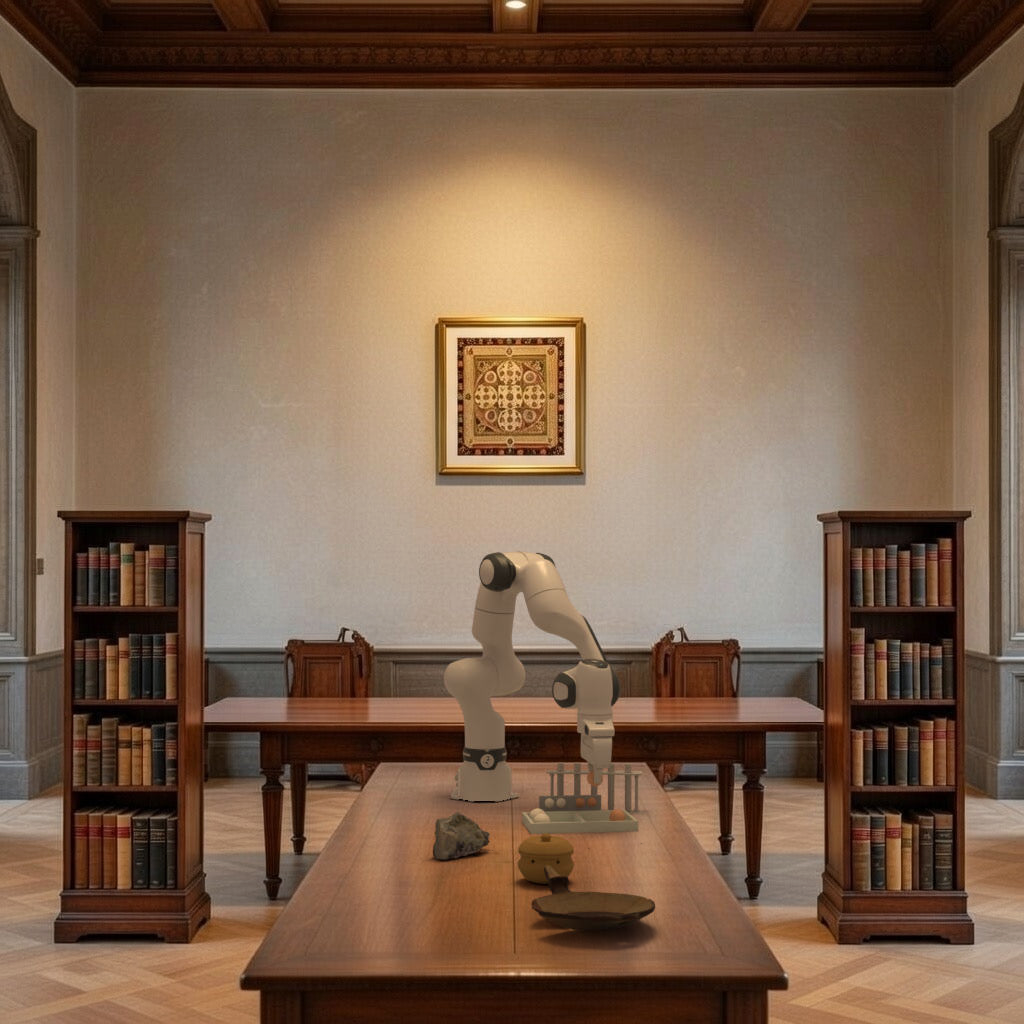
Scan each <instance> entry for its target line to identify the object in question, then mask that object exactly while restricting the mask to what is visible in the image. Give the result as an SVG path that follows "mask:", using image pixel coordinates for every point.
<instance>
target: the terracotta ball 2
mask: <svg viewBox="0 0 1024 1024" xmlns="http://www.w3.org/2000/svg"><path fill="white" fill-rule="evenodd" d="M622 810H623V809H619V808H616V809H615V808H614V810H613V811H612V812H611V813H610V815H609V819H610V821H625V814H624V812H623V811H622Z"/></svg>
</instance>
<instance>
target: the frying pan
mask: <svg viewBox="0 0 1024 1024" xmlns="http://www.w3.org/2000/svg"><path fill="white" fill-rule="evenodd" d="M544 872H545V876H546V878H547V881H548V884H547V885H548V887H549V889H550V892H551V894H548V895H544V896H540V897H537V898H534V899H532V901H531V909H533V910H534V911H535V912H537V913H538V916H540V917H542V918H543V919H544V920H546V921H549V922H551V923H553V924H555V925H557V926H560V927H563V928H567V929H569V930H572V931H573V930H574V931H579V932H601V931H602V932H603V931H610V930H616V929H619V928H623V927H625V926H629V925H631V924H633V923H635V922H638V921H640V920H642V919H643V918H645V917H647V916H649V915H651V914H652V913H653V912H655V909H656V903H655V901H654V900H653V899H651V898H647V897H644V896H640V895H635V894H629V893H619V892H618V893H616V892H614V893H613V892H601V891H599V892H598V891H571V890H570V889H569V885H568V884H569V877H567V876H560V875H559V874H558V873H556V872H555V870H554V869H553V868H552V867H550V866H548V865H546V866H545V867H544Z"/></svg>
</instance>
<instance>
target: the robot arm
mask: <svg viewBox="0 0 1024 1024" xmlns="http://www.w3.org/2000/svg"><path fill="white" fill-rule="evenodd" d="M478 577H479V581H480V584H479V587H478V590H477V595H476V600H475V605H474V610H473V618H472V619H473V620H472V626H471V634H472V637H473V638H474V639H475V640H476V642H478V643H479V644H481V647H482V656H481V657H465V658H462V659H459V660H455V661H454V662H451V663H449V664H448V665H447V667H446V669H445V671H444V674H443V681H444V686H445V690H447V692H448V693H449V694H450V695H451V696H452V697H453V698H455V699H454V700H455V701H456V702H457V703H458V705H459V707H460V709H461V712H462V715H463V722H464V747H463V751H462V760H463V763H462V764H461V765H460V766H459V767H458V770H457V771H455V773H454V782H456V783H455V785H456V786H454V788H453V790H452V792H451V794H450V799H451V798H452V799H451V800H459V799H463V800H462V801H465V800H468V801H467V802H474V801H495V802H502V801H503V800H504V801H508V800H510V798H511V799H517V798H516V797H518V798H519V793H518V792H515V791H514V790H513V775H512V774H513V773H512V772H513V771H512V766H510V765H509V764H508V762H507V761H506V760H507V755H508V754H507V753H508V752H507V747H506V746H505V745H506V743H505V741H506V740H505V739H506V738H505V736H506V735H505V734H506V730H505V729H506V721H505V719H504V717H503V715H501V714H500V713H499V712H497V711H496V710H495V709H494V706H493V705H492V700H491V699H492V697H497V696H498V697H499V696H507V695H510V694H513V693H515V692H518V691H519V690H521V689H522V687H524V684H525V681H526V670H525V667H524V664H523V663H522V662H521V661H520V660H519V658H518V657H517V656H516V653H515V650H514V647H513V627H514V619H515V612H516V605H517V603H516V601H517V597H518V595H520V593H522V594H523V598H524V602H525V604H526V609H527V611H528V615H529V618H530V619H531V621H532V623H533V624H534V625H535V626H536V627H537V628H538V629H539V630H540V631H543V632H545V633H547V634H551V635H555V636H558V637H560V638H563V639H564V640H567V641H568V642H570V643H571V644H573V645H574V646H575V648H576V649H577V651H578V652H579V655H580V656H581V659H582V660H580V661H579V662H578V664H577V665H576V666H575V667H573V668H570V669H568V670H566V671H563V672H560V673H558V674H557V675H556V676H555V678H554V679H553V682H552V685H551V686H552V688H551V689H552V690H551V692H552V697H553V699H554V702H555V703H556V705H558V707H560V708H562V709H565V710H566V709H567V710H575V709H577V713H576V717H577V718H576V721H577V722H576V723H577V724H576V728H577V729H576V732H577V733H579V734H580V757H581V758H582V759H584V760H585V761H586V764H587V770H588V771H589V772H590V771H592V770H594V776H593V782H594V783H596V784H600V783H601V776H602V772H603V771H604V769H608V768H609V767H610V764H611V763H612V755H613V754H612V751H613V750H612V749H613V737H614V736H615V733H616V732H615V727H614V719H613V714H614V713H613V709H612V707H614V705H616V703H617V702H618V700H619V699H620V696H621V694H622V683H621V681H620V678H619V676H618V674H617V673H616V672H615V671H614V669H613V667H612V666H611V664H610V663H609V662H608V660H607V659H608V658H607V656H606V655H605V653H604V651H603V649H602V647H601V645H600V643H599V641H598V639H597V635H596V634H595V632H594V630H593V628H592V626H591V625H590V623H589V621H588V620H587V619H586V617H585V616H583V615H582V614H581V613H580V612H579V611H578V609H576V607H575V606H574V605H573V603H572V602H571V600H570V598H569V595H568V593H567V590H566V587H565V584H564V582H563V580H562V577H561V575H560V573H559V572H558V570H557V567H556V564H555V562H554V560H553V558H552V557H551V556H549V555H547V554H544V553H541V552H535V553H534V552H528V551H509V552H500V551H498V552H497V551H496V552H491V553H488V554H486V555H485V556H484V557H483V558H482V559H481V562H480V564H479V568H478ZM601 784H602V783H601ZM601 784H600V785H601ZM507 799H508V800H507ZM504 801H503V802H504Z"/></svg>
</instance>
